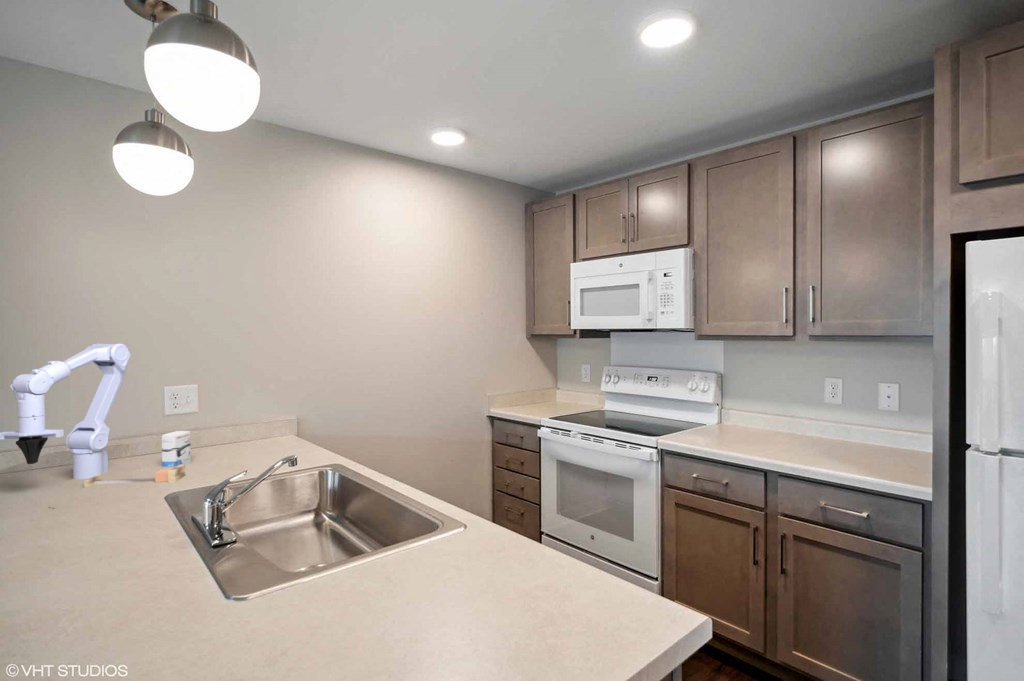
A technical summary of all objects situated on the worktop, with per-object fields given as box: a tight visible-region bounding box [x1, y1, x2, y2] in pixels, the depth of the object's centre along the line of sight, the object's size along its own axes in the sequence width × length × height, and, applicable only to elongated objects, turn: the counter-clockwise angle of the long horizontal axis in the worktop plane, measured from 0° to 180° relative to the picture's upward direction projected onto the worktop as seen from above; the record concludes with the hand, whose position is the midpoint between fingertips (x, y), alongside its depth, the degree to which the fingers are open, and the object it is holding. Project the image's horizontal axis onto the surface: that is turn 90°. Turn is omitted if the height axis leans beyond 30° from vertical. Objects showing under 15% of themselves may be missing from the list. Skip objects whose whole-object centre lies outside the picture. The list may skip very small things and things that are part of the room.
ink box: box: [161, 430, 192, 468], centre depth 177 cm, size 8×5×12 cm, turn 179°
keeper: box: [154, 467, 174, 483], centre depth 158 cm, size 5×4×3 cm
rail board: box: [83, 464, 186, 489], centre depth 156 cm, size 7×24×4 cm, turn 102°
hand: (32, 463), depth 146 cm, fingers closed
